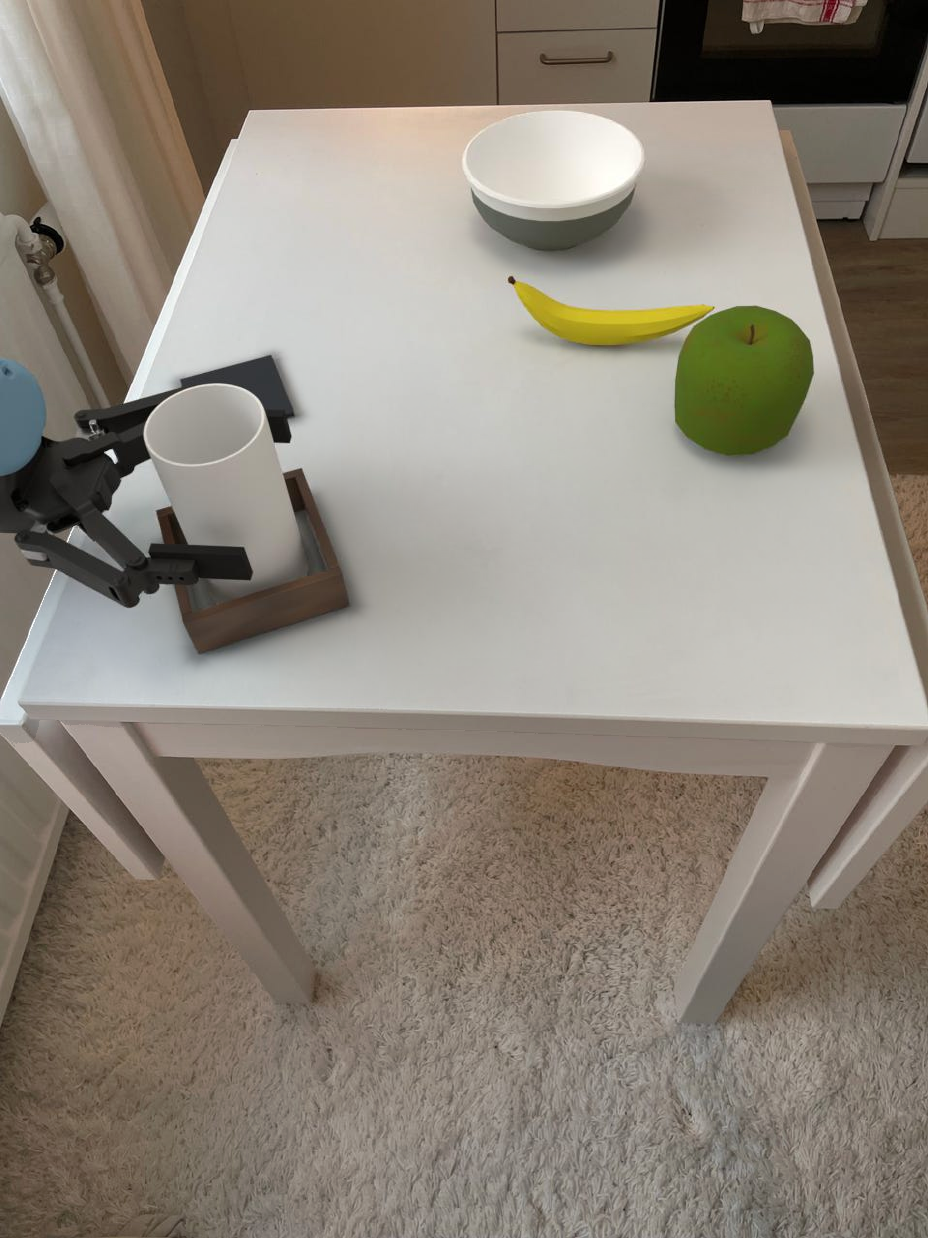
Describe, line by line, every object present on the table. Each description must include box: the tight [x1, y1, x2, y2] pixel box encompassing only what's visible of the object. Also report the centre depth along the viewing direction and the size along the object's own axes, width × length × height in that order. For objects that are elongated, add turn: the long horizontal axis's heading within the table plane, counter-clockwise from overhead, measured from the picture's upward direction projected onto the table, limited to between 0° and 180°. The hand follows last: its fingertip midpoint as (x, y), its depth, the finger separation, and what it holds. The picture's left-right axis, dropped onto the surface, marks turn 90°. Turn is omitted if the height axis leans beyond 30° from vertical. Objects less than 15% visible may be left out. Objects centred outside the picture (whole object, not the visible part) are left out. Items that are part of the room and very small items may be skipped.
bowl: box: [461, 109, 646, 252], centre depth 100 cm, size 19×19×8 cm
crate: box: [155, 467, 351, 655], centre depth 75 cm, size 12×12×4 cm
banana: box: [507, 275, 715, 346], centre depth 89 cm, size 3×19×6 cm, turn 78°
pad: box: [179, 354, 296, 419], centre depth 89 cm, size 9×9×1 cm
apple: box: [673, 305, 815, 457], centre depth 80 cm, size 11×11×11 cm
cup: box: [144, 384, 309, 604], centre depth 70 cm, size 8×8×16 cm
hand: (269, 491), depth 69 cm, fingers open, 13 cm apart
